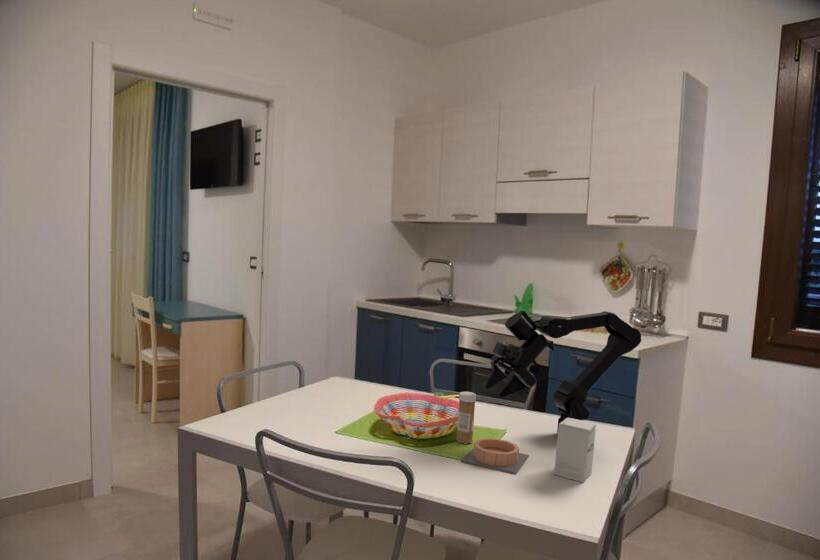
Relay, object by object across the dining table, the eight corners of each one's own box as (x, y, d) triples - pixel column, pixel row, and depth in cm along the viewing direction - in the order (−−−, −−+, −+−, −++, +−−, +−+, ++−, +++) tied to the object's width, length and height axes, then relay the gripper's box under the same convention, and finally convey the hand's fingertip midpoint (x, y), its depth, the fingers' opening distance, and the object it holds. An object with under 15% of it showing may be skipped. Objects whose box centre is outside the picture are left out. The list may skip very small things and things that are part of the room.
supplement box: (584, 483, 134) (589, 430, 133) (553, 474, 138) (557, 423, 137) (592, 473, 140) (597, 422, 140) (562, 466, 144) (566, 416, 144)
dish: (529, 456, 149) (530, 443, 149) (516, 474, 137) (517, 460, 136) (477, 445, 155) (478, 433, 155) (460, 461, 142) (461, 448, 142)
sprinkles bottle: (476, 442, 158) (479, 394, 157) (465, 445, 154) (468, 396, 154) (463, 437, 161) (466, 390, 160) (452, 440, 158) (456, 392, 157)
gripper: (496, 327, 170) (461, 366, 168) (526, 338, 152) (487, 381, 150) (520, 352, 173) (485, 391, 170) (552, 365, 155) (514, 409, 153)
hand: (492, 392), depth 161 cm, fingers open, 9 cm apart
